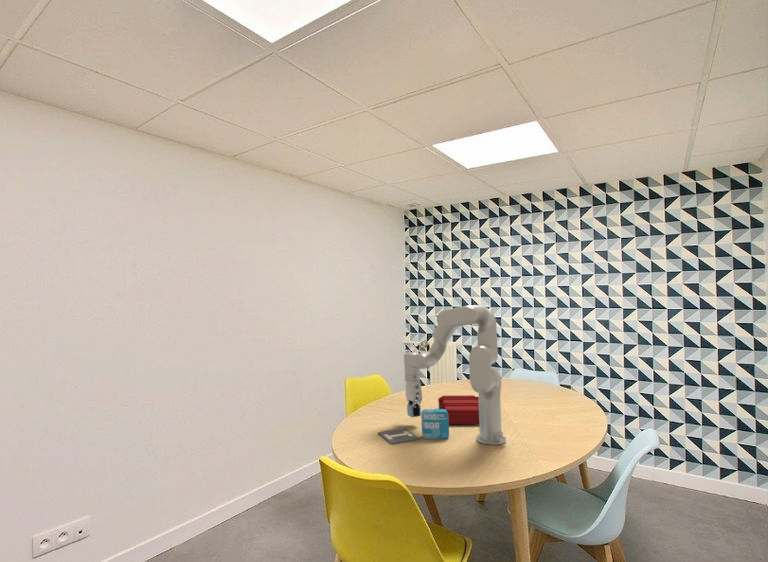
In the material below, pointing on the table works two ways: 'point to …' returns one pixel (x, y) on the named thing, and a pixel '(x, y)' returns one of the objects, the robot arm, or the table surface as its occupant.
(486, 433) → the robot arm
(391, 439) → the letter mat
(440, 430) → the data package
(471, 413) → the first aid kit
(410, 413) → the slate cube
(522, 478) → the table surface
